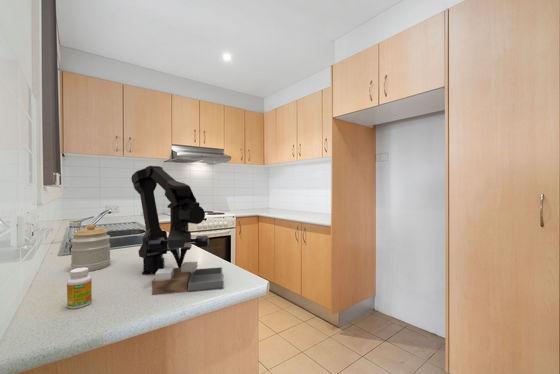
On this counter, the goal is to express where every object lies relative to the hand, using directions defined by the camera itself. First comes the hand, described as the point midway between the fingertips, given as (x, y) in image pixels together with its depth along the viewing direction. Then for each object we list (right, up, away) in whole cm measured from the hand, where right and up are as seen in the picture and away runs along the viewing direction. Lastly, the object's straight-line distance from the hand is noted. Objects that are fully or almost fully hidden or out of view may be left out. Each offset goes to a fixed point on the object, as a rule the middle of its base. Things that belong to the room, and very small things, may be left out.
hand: (179, 267), depth 87 cm
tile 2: (-2, -1, -7) cm, 7 cm away
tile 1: (+3, -1, 0) cm, 3 cm away
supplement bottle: (-22, -5, -16) cm, 27 cm away
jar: (-43, -5, +17) cm, 46 cm away
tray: (+9, -5, 0) cm, 10 cm away
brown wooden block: (-1, -5, -3) cm, 6 cm away
